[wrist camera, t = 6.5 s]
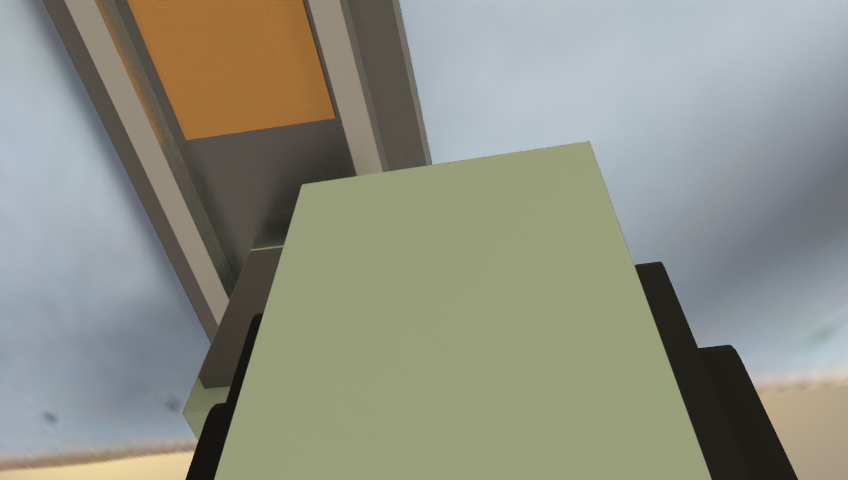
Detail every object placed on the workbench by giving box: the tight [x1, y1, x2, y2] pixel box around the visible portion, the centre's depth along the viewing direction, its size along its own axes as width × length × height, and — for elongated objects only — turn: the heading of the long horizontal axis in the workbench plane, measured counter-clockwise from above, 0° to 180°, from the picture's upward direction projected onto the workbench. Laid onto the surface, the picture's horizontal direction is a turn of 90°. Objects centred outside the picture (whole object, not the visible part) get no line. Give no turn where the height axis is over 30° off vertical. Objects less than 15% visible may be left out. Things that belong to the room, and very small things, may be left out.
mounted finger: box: [183, 245, 284, 441], centre depth 28 cm, size 4×6×9 cm
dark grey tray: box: [43, 0, 432, 343], centre depth 29 cm, size 12×20×3 cm, turn 10°
